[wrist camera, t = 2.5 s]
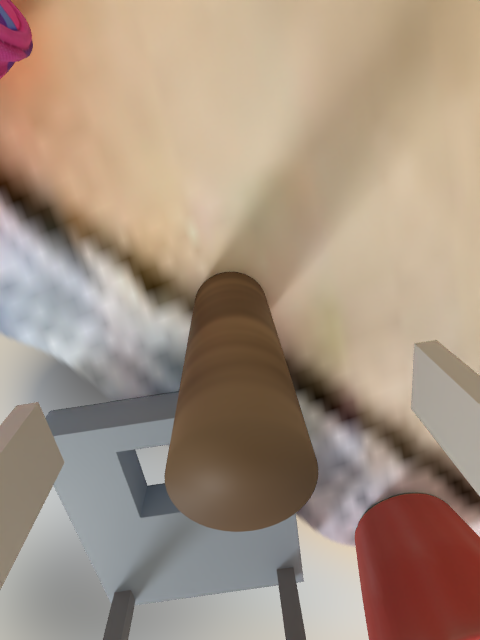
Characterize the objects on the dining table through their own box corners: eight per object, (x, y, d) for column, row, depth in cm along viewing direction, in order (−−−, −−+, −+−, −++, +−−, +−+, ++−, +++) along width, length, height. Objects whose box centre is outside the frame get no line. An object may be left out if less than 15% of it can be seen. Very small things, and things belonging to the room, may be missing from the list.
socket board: (50, 410, 23) (-139, 696, 11) (276, 377, 23) (338, 630, 11) (121, 573, 29) (52, 863, 17) (297, 548, 29) (351, 824, 17)
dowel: (188, 277, 20) (147, 430, 9) (262, 266, 20) (313, 406, 9) (201, 343, 22) (182, 540, 11) (270, 333, 21) (322, 520, 11)
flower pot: (305, 523, 28) (345, 693, 19) (437, 452, 26) (550, 608, 17) (373, 588, 32) (432, 755, 23) (493, 530, 30) (610, 692, 21)
